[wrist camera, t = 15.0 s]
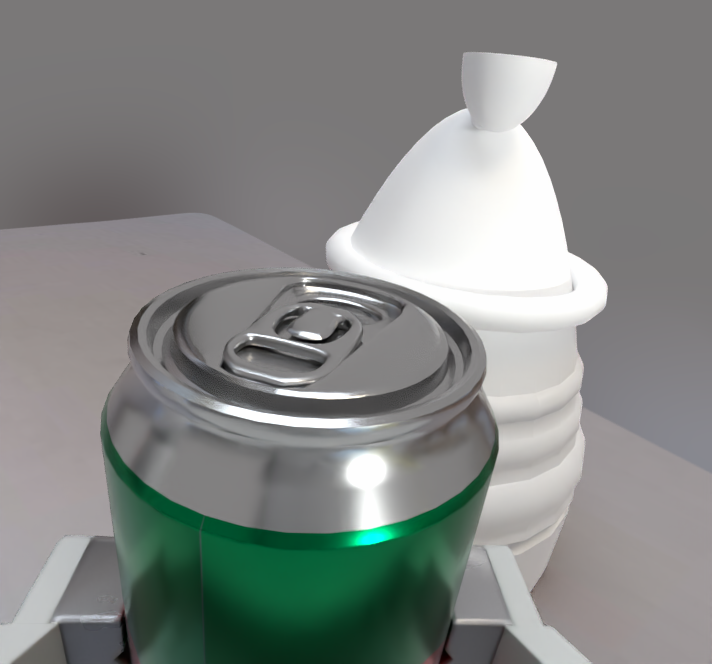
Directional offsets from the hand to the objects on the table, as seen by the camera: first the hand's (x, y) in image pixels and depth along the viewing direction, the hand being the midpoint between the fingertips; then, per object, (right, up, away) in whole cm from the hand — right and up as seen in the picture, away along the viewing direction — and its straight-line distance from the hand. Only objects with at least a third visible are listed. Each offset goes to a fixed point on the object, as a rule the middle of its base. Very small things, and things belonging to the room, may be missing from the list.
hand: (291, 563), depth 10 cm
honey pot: (+4, -3, +14) cm, 15 cm away
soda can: (-1, -6, +2) cm, 7 cm away
